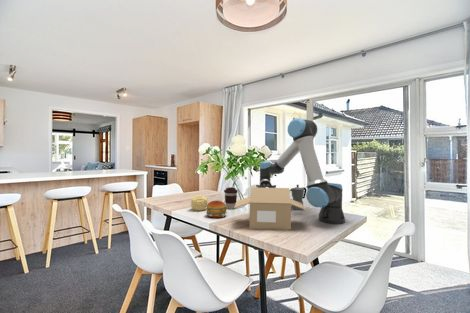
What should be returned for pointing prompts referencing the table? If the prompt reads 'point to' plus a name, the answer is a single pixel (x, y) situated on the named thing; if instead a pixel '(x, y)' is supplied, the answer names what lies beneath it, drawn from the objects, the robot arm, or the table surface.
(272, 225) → the carton
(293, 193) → the coffeepot
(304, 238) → the table surface
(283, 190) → the near flap
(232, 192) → the coffee cup
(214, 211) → the burger
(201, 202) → the sculpture
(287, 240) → the table surface
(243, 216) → the table surface
